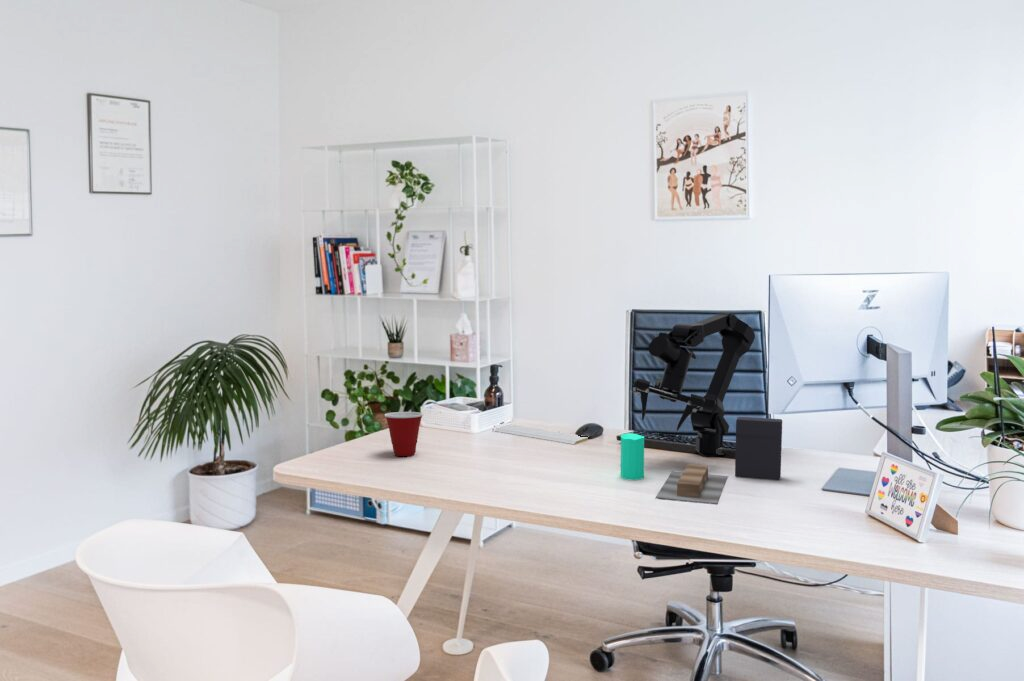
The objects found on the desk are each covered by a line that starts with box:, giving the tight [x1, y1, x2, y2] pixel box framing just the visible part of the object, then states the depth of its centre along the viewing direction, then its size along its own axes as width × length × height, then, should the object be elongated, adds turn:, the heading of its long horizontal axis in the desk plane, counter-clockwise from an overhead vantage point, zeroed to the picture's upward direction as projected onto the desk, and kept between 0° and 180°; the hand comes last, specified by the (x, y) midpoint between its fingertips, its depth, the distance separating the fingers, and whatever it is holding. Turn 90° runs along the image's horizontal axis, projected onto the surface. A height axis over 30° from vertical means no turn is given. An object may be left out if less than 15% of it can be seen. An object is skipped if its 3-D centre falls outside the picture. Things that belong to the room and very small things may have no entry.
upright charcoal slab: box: [734, 416, 783, 481], centre depth 220 cm, size 11×4×15 cm, turn 71°
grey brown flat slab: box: [655, 463, 728, 505], centre depth 212 cm, size 24×14×3 cm, turn 161°
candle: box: [620, 429, 645, 481], centre depth 221 cm, size 6×6×12 cm
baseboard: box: [493, 421, 589, 446], centre depth 268 cm, size 30×3×10 cm
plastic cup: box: [384, 411, 424, 458], centre depth 245 cm, size 11×11×12 cm
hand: (659, 425), depth 228 cm, fingers open, 9 cm apart
